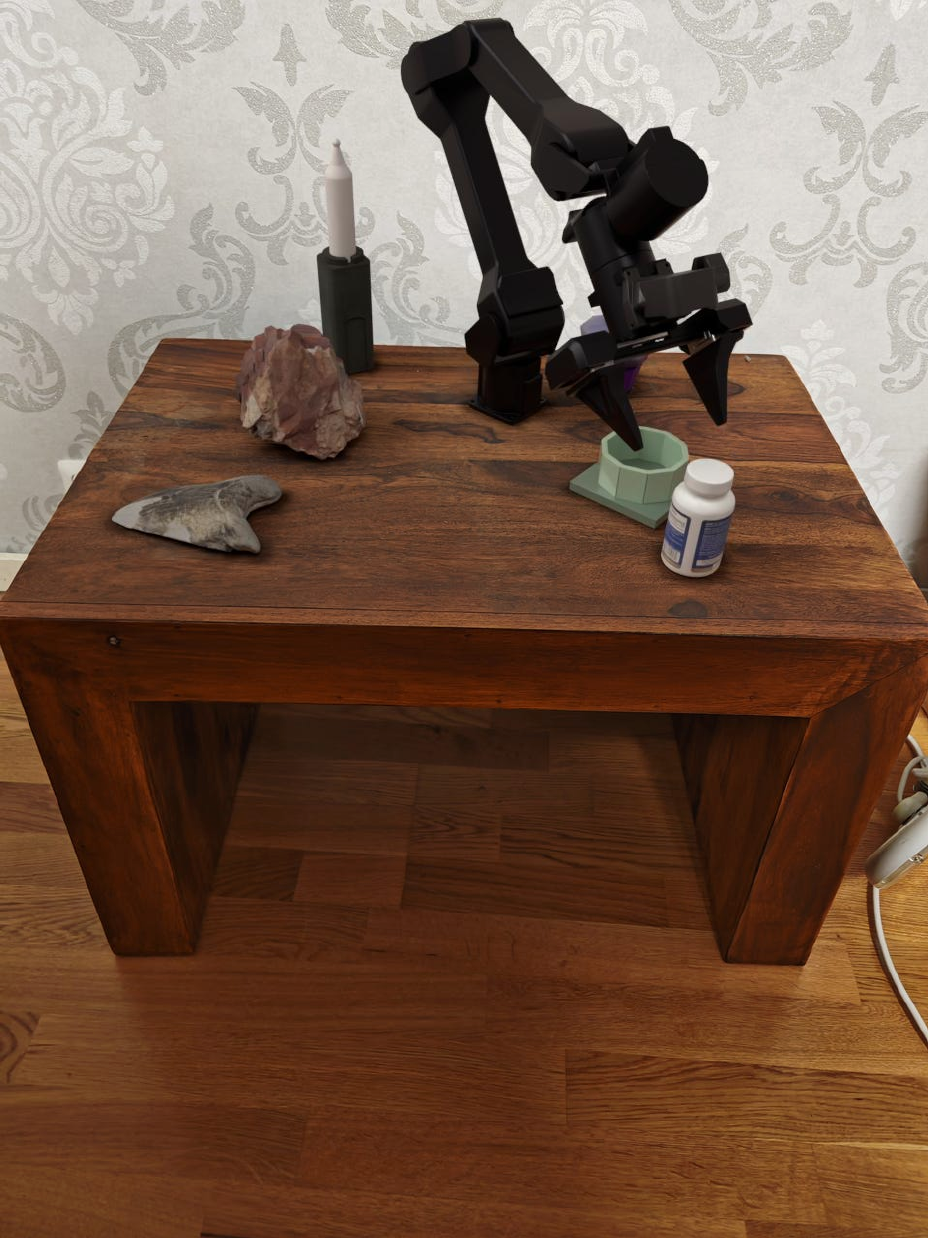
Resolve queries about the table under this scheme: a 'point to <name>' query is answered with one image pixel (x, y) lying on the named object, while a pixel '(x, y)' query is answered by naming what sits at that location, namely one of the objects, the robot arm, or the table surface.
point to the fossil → (204, 512)
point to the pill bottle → (699, 519)
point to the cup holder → (636, 475)
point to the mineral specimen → (299, 392)
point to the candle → (345, 274)
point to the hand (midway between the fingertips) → (681, 437)
